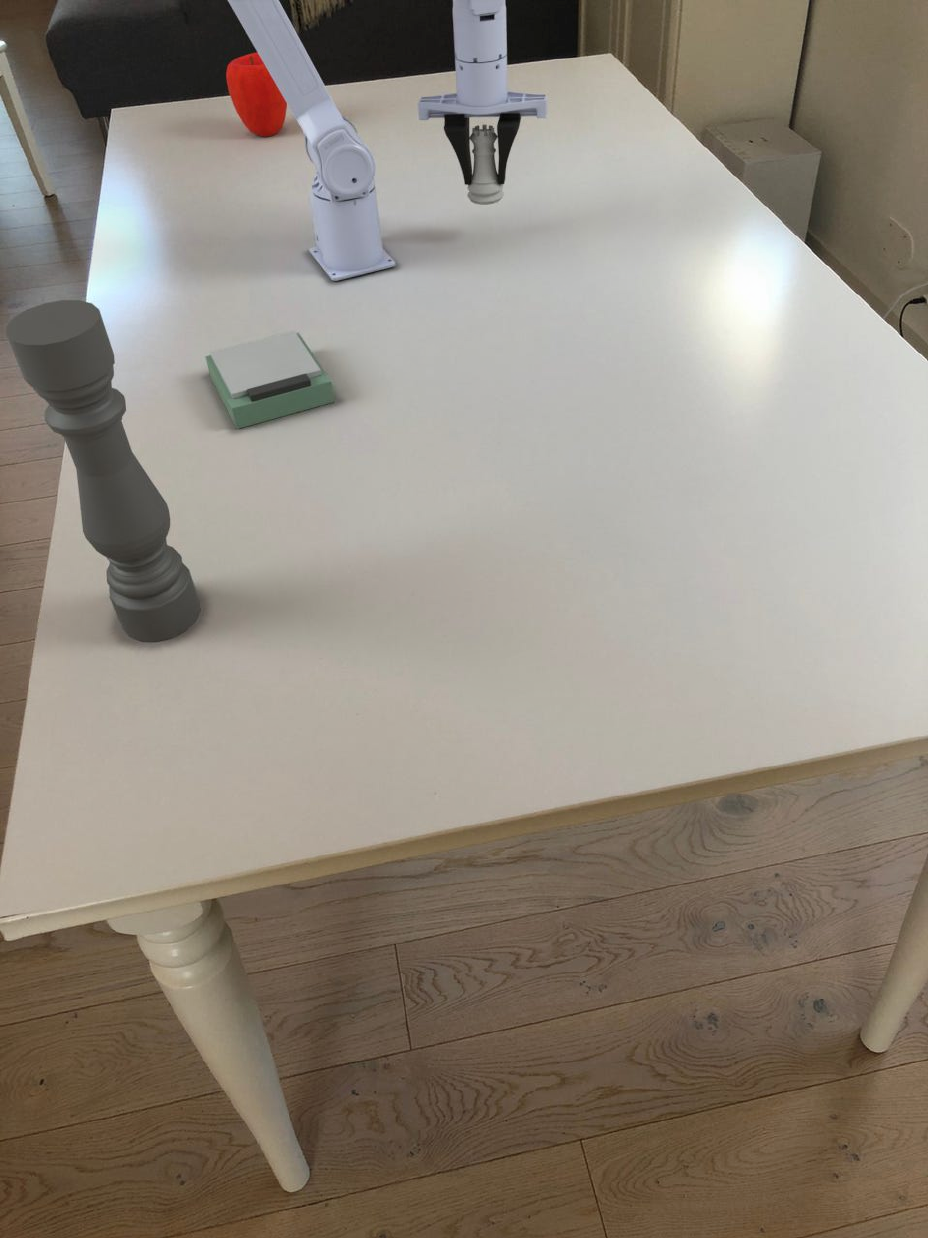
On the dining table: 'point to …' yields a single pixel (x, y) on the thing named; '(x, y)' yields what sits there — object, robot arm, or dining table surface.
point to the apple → (256, 95)
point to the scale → (269, 378)
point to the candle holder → (106, 466)
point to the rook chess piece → (484, 168)
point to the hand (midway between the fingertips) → (485, 181)
